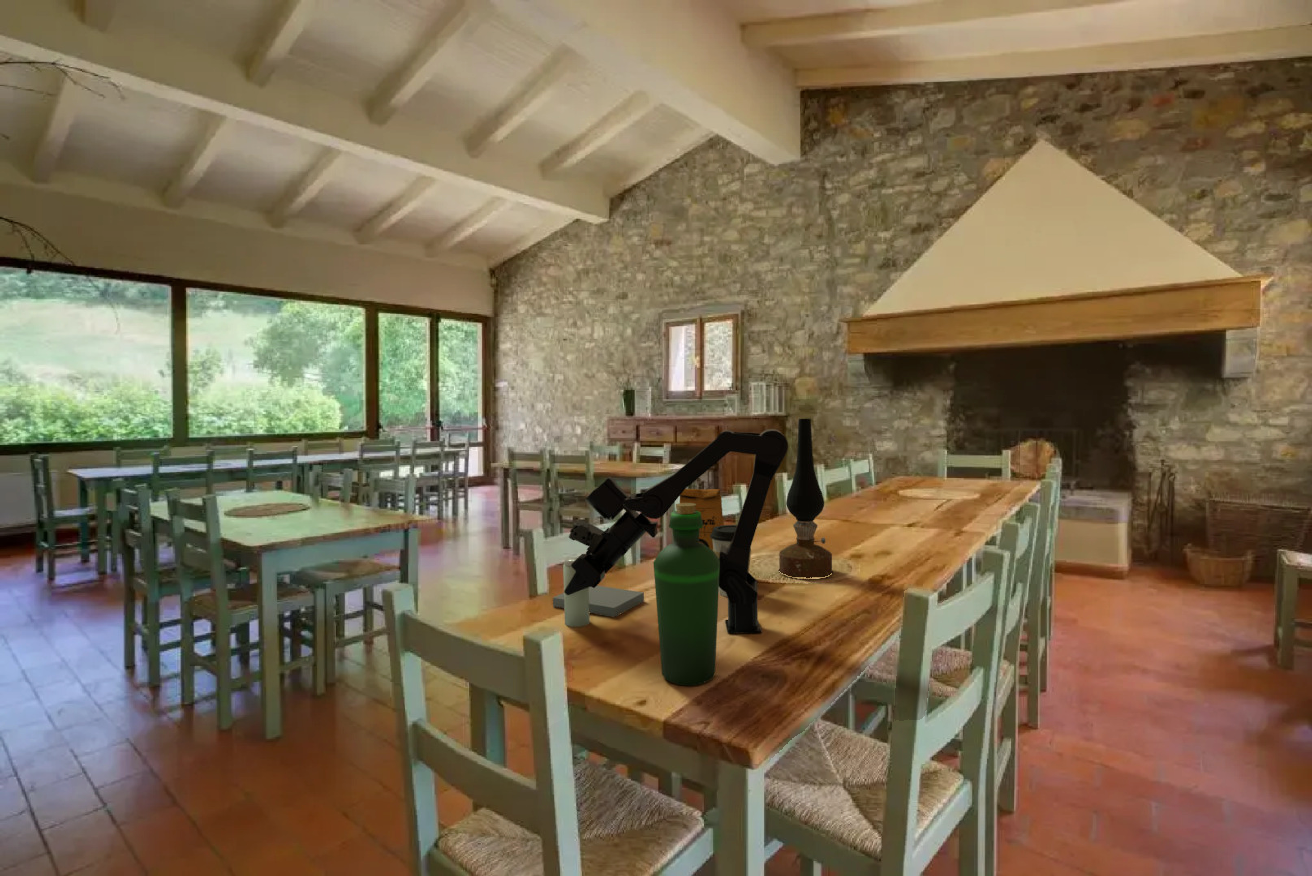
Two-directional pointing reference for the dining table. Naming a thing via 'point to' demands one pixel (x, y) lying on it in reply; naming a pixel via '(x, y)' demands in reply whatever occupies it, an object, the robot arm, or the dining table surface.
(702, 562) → the bottle
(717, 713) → the dining table surface
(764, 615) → the dining table surface
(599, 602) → the slate board
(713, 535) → the coffee cup
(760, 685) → the dining table surface
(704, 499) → the coffee package
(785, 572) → the oil lamp
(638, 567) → the dining table surface
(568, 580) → the shaker
